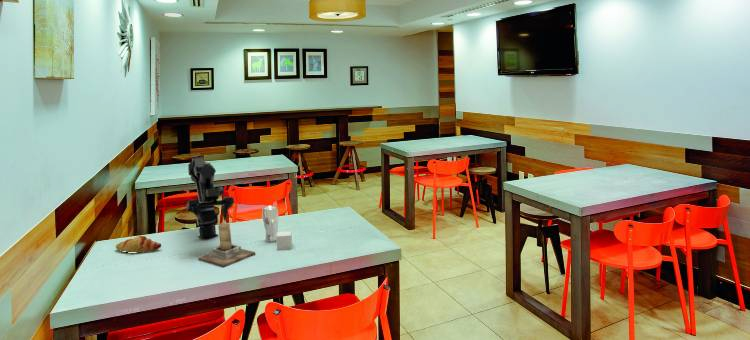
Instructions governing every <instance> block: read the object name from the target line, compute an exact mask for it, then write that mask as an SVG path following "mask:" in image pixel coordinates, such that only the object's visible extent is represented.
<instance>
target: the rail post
mask: <svg viewBox="0 0 750 340" xmlns="http://www.w3.org/2000/svg"><path fill="white" fill-rule="evenodd" d="M230 225H231V224H230V223H229V222H221V223H218V226H217V227H218V237H219V246H220V247H221V251H224V252H225V251H228V250H231V249H232V245H233V244H232V234H231V226H230Z"/></svg>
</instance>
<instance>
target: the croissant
mask: <svg viewBox="0 0 750 340" xmlns="http://www.w3.org/2000/svg"><path fill="white" fill-rule="evenodd" d="M115 248H116V250H118V249H119V250H121V251H126V252H143V253H146V252H145V251H150V252H154V251H153V250H155V251H157V250H159V249H161V248H162V243H159V242H157V241H154V240H152V239H151V238H147V237H146V236H145V235H139V236H136V237H133V238H128V239H126V240H124V241H121V242H119V243H117V244H116V245H115ZM119 250H118V251H119ZM121 251H120V252H121Z"/></svg>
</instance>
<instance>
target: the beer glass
mask: <svg viewBox="0 0 750 340" xmlns="http://www.w3.org/2000/svg"><path fill="white" fill-rule="evenodd" d="M261 212H262V215H261V216H262V223H263V227H264V230H265V242H266V243H267V242H269V243H272V242H277V239H276V236H277V232H279V231H278V230H279V229H278V228H279V226H278V225H279V211H278V206H277V205H267V206H263V207H262V211H261Z"/></svg>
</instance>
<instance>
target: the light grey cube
mask: <svg viewBox="0 0 750 340" xmlns="http://www.w3.org/2000/svg"><path fill="white" fill-rule="evenodd" d="M292 237H293V236H292V230H290V231H278V232H277V236H276V239H277V241H276V250H279V251H281V250H289V249H290V250H292V248H293V240H292Z"/></svg>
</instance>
